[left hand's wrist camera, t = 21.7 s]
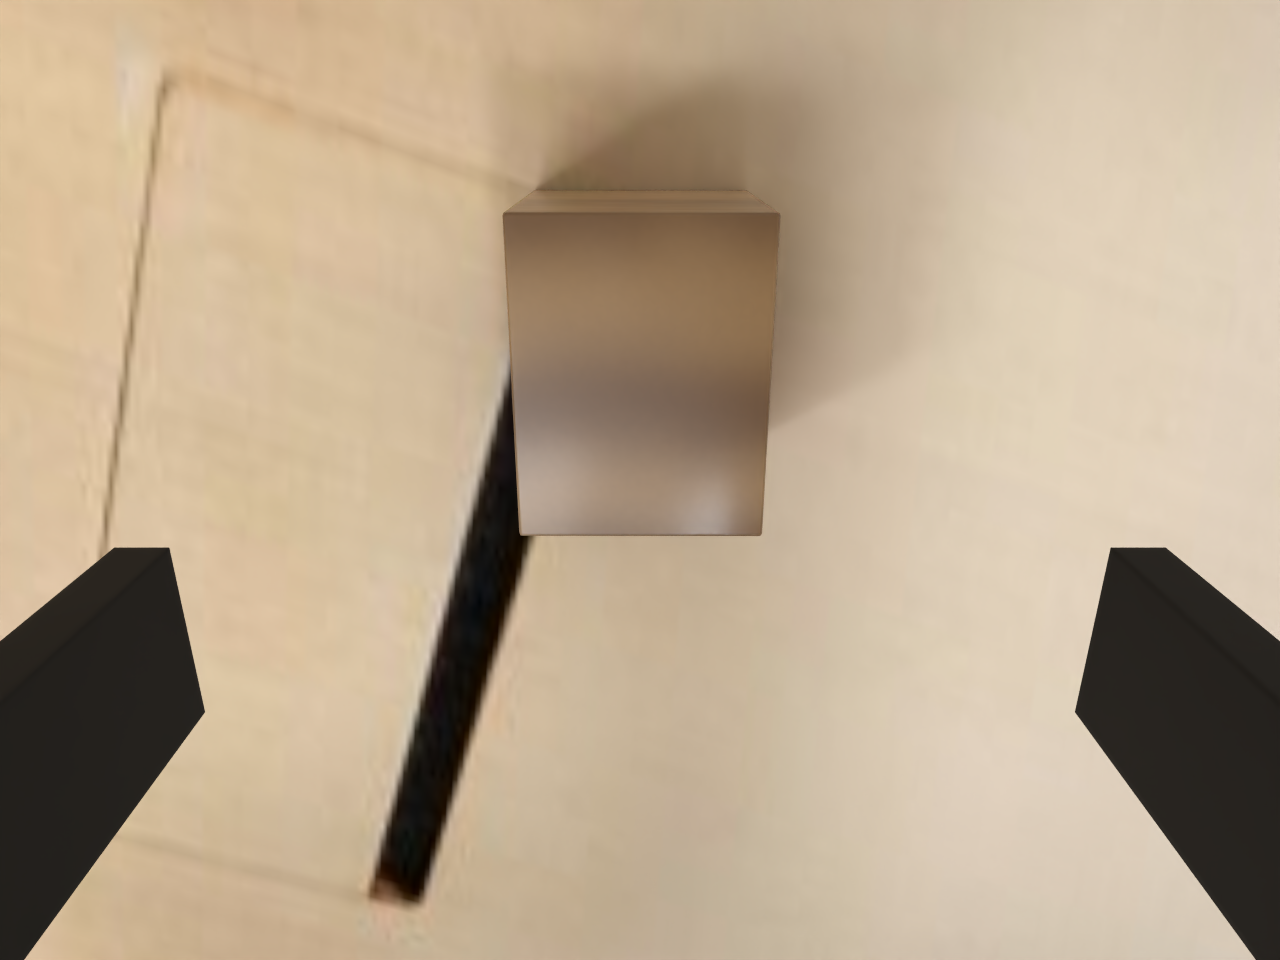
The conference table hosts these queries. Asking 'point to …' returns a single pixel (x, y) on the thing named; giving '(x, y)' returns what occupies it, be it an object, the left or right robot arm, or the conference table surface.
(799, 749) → the conference table surface
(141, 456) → the conference table surface
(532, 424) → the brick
